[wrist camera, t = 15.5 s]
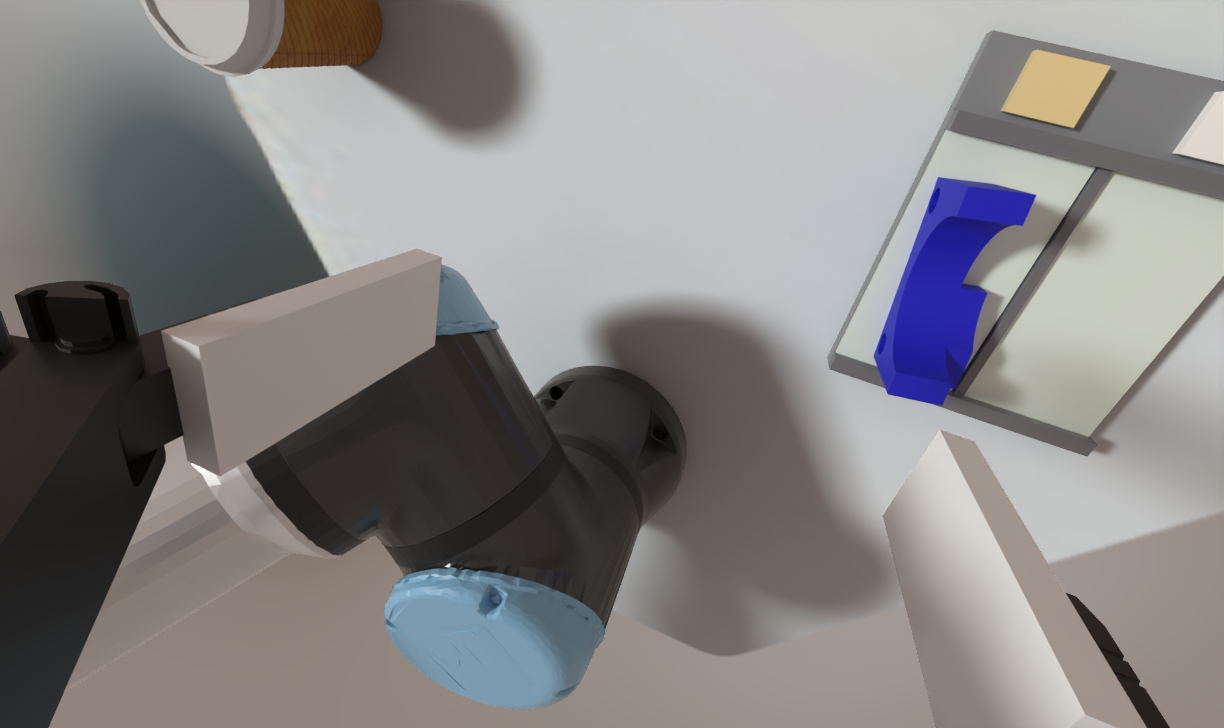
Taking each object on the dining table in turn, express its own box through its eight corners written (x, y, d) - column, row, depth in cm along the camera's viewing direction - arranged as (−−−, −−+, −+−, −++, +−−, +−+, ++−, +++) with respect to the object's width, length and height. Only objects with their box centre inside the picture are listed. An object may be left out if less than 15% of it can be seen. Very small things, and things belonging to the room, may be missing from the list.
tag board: (827, 357, 38) (829, 369, 37) (986, 33, 29) (1001, 26, 27) (1071, 439, 36) (1087, 456, 34) (1339, 111, 26) (1383, 110, 24)
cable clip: (943, 370, 35) (970, 412, 30) (873, 356, 36) (887, 394, 31) (1022, 187, 30) (1071, 199, 25) (937, 176, 31) (968, 186, 26)
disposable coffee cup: (276, -40, 39) (90, -102, 29) (376, -79, 36) (207, -165, 25) (321, 99, 42) (169, 89, 32) (415, 75, 39) (281, 55, 29)
